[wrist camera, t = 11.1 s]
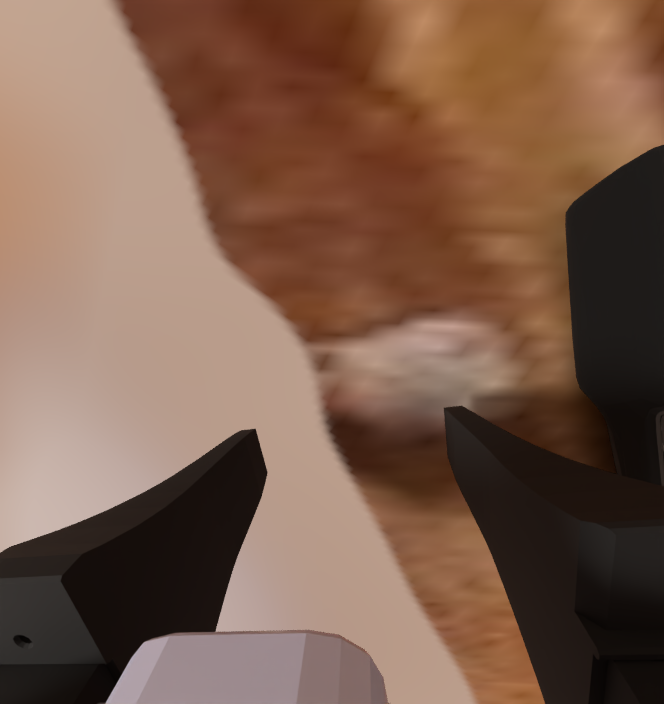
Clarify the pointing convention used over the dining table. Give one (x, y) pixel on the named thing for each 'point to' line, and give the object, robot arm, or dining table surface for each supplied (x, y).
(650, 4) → the dining table surface
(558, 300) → the dining table surface
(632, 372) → the electric trimmer
